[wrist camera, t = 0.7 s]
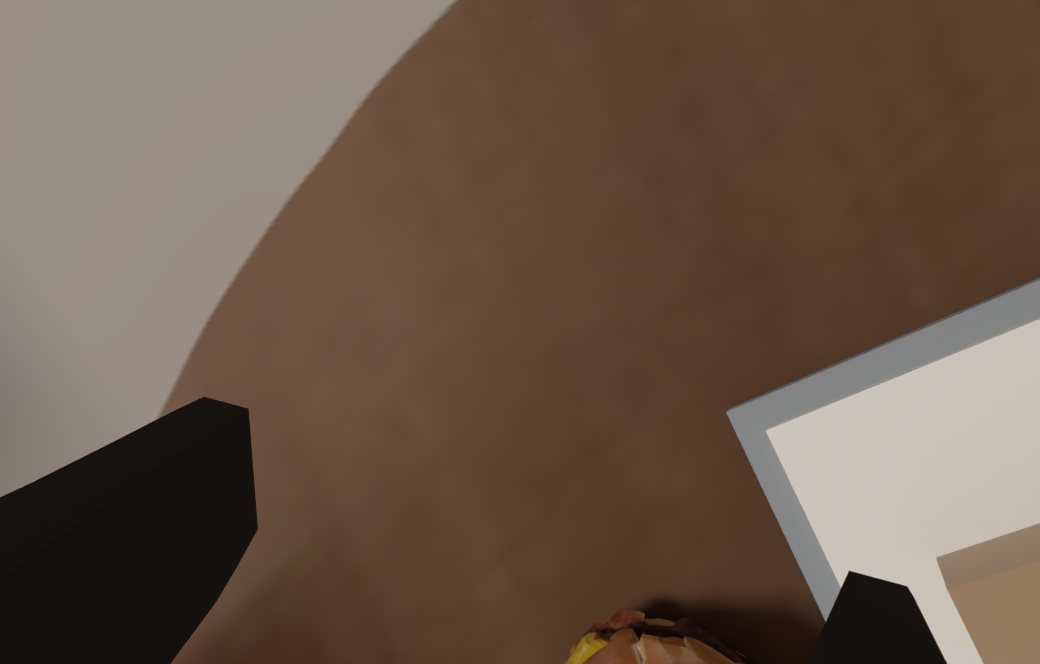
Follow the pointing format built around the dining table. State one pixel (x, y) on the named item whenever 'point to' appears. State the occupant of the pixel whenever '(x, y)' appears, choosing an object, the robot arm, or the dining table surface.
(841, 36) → the dining table surface
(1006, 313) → the mat
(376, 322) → the dining table surface
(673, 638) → the burger
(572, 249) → the dining table surface
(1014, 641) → the lid
